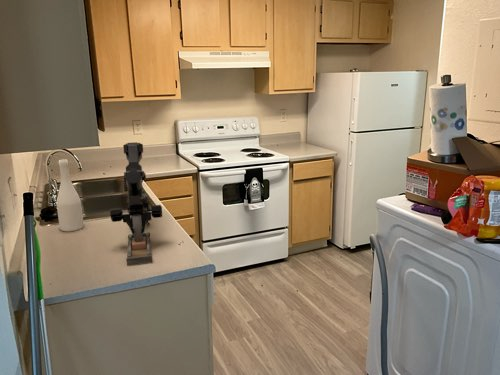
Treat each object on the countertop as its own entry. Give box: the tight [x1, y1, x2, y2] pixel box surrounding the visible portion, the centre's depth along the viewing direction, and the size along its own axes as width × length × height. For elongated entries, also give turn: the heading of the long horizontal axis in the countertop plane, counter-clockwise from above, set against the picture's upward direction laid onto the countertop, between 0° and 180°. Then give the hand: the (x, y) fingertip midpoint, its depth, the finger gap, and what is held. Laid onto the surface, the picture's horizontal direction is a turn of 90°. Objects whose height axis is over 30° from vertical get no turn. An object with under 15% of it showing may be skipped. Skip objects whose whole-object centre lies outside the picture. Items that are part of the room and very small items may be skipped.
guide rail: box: [125, 232, 153, 266], centre depth 151 cm, size 23×8×3 cm, turn 15°
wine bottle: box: [56, 158, 85, 232], centre depth 172 cm, size 10×10×30 cm
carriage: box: [132, 215, 146, 250], centre depth 152 cm, size 7×5×12 cm
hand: (138, 233), depth 151 cm, fingers closed on carriage, 3 cm apart
